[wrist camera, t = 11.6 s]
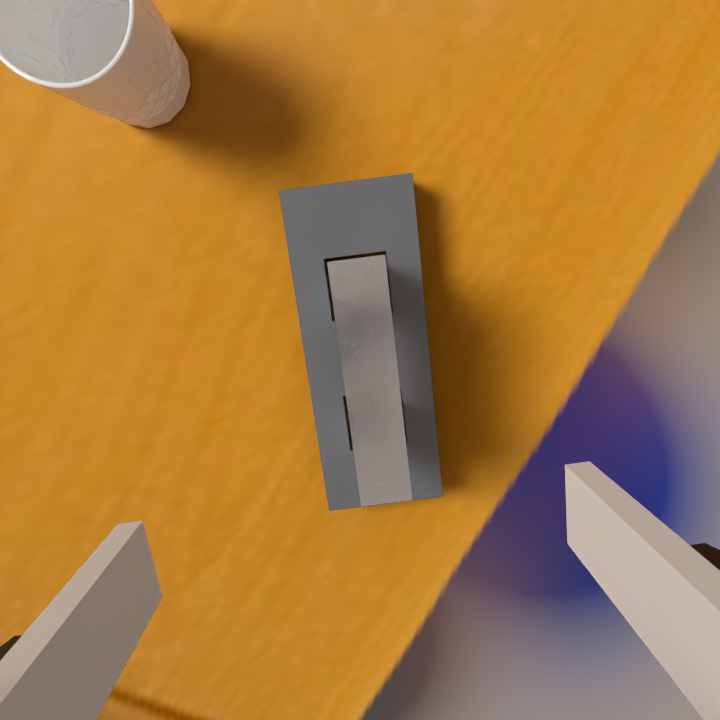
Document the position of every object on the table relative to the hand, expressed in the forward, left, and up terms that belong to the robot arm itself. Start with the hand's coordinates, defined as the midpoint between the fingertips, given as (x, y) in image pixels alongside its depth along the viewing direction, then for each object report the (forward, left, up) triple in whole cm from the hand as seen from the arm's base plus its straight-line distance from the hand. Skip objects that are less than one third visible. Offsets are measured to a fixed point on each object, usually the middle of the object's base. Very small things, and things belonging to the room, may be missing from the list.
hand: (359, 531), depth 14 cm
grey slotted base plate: (+1, +1, -23) cm, 23 cm away
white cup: (-12, +22, -23) cm, 34 cm away
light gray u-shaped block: (+1, +1, -23) cm, 23 cm away
